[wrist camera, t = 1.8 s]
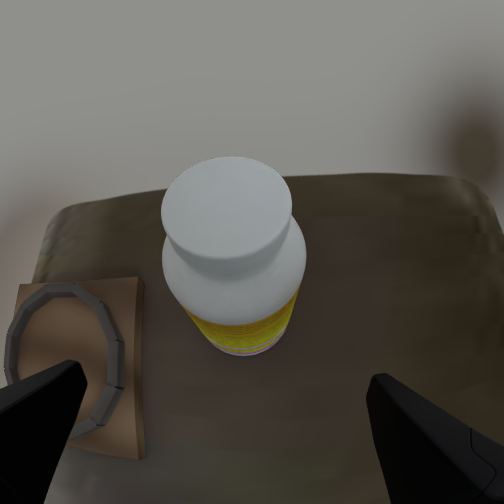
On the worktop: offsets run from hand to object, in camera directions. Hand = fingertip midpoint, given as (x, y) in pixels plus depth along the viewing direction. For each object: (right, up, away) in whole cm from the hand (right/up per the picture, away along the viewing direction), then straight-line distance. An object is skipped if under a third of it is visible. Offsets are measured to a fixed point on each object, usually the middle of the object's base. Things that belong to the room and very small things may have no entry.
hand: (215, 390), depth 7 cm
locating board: (-14, -5, +11) cm, 19 cm away
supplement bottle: (0, -1, +14) cm, 14 cm away
